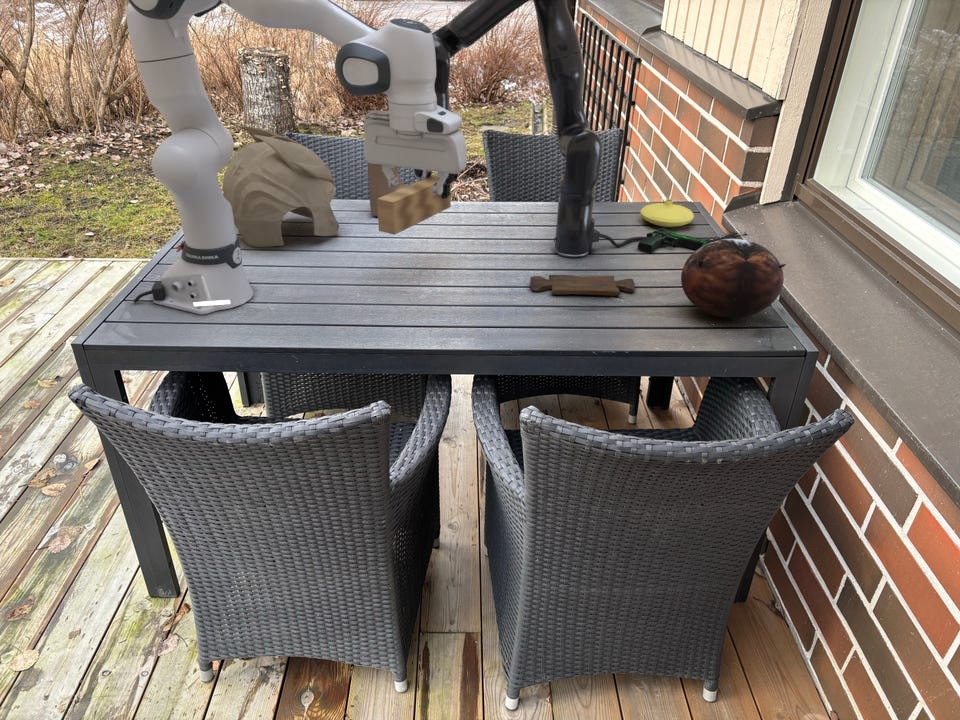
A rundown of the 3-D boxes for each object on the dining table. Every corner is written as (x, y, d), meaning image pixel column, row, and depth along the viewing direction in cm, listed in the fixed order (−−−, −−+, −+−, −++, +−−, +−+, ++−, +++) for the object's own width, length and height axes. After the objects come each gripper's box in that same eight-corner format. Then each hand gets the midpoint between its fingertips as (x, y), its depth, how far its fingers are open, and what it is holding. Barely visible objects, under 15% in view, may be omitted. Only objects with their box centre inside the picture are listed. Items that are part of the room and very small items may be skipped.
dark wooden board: (638, 298, 171) (631, 281, 180) (639, 292, 170) (632, 275, 179) (530, 294, 172) (529, 277, 180) (531, 288, 171) (529, 271, 179)
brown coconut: (756, 268, 174) (792, 226, 156) (764, 335, 169) (803, 301, 150) (665, 264, 174) (691, 222, 155) (670, 332, 168) (697, 297, 149)
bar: (435, 203, 187) (435, 173, 183) (450, 207, 185) (450, 176, 181) (378, 231, 170) (376, 198, 165) (394, 234, 167) (393, 202, 163)
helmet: (352, 242, 202) (347, 133, 187) (249, 261, 186) (234, 144, 172) (313, 214, 220) (305, 113, 206) (217, 230, 205) (201, 122, 190)
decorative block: (418, 219, 216) (415, 117, 200) (370, 216, 217) (363, 114, 202) (423, 211, 222) (421, 111, 207) (376, 208, 224) (370, 109, 208)
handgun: (632, 238, 197) (658, 223, 207) (630, 248, 199) (657, 232, 209) (685, 255, 189) (710, 237, 198) (684, 265, 190) (708, 247, 200)
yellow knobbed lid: (637, 212, 224) (640, 190, 220) (689, 215, 222) (693, 193, 219) (640, 230, 211) (643, 207, 207) (695, 233, 209) (699, 210, 205)
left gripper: (355, 115, 132) (360, 188, 139) (456, 125, 126) (457, 201, 133) (371, 108, 137) (376, 179, 144) (470, 118, 131) (469, 192, 138)
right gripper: (402, 126, 174) (405, 195, 183) (451, 134, 168) (451, 205, 176) (420, 121, 179) (422, 187, 188) (468, 128, 173) (468, 197, 182)
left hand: (415, 190), depth 139 cm, fingers open, 8 cm apart
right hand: (436, 195), depth 182 cm, fingers closed on bar, 4 cm apart
